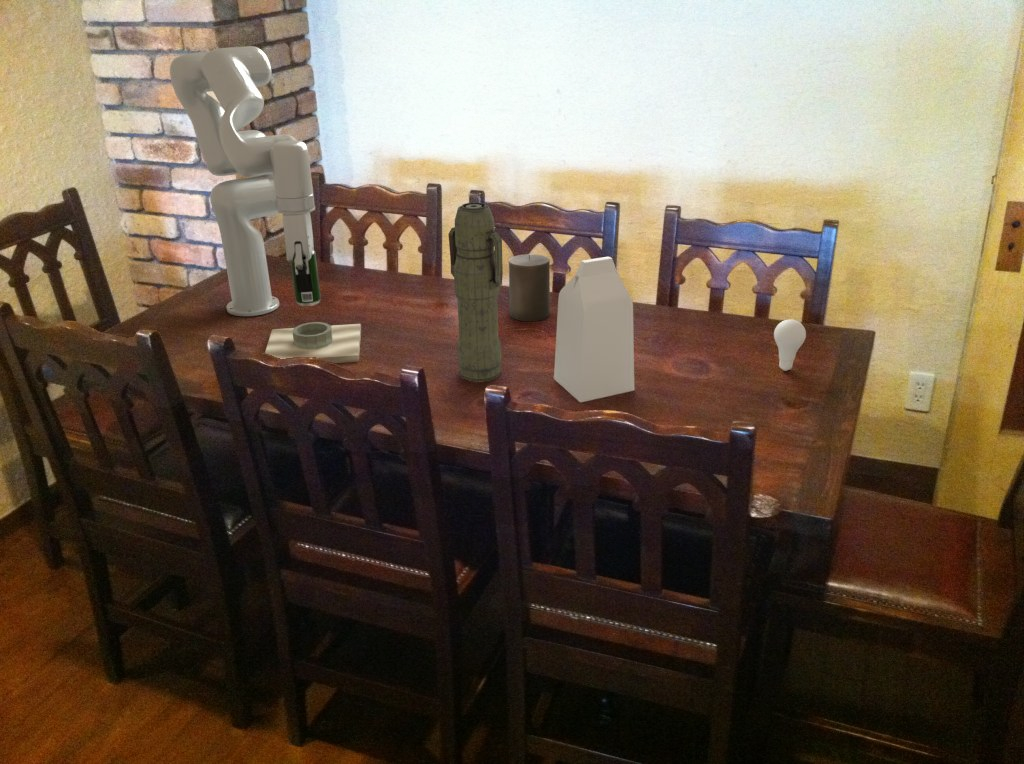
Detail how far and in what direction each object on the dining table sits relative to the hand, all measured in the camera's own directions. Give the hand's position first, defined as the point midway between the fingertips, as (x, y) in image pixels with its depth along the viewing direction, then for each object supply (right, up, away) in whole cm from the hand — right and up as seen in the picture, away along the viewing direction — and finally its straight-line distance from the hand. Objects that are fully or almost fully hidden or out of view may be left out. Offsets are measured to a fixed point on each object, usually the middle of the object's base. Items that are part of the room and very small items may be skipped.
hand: (306, 286), depth 185 cm
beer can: (0, -4, +2) cm, 4 cm away
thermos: (+37, -19, -7) cm, 42 cm away
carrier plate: (0, -13, +6) cm, 14 cm away
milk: (+60, -21, -12) cm, 65 cm away
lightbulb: (+100, -18, -8) cm, 102 cm away
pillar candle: (+48, -4, +23) cm, 53 cm away
